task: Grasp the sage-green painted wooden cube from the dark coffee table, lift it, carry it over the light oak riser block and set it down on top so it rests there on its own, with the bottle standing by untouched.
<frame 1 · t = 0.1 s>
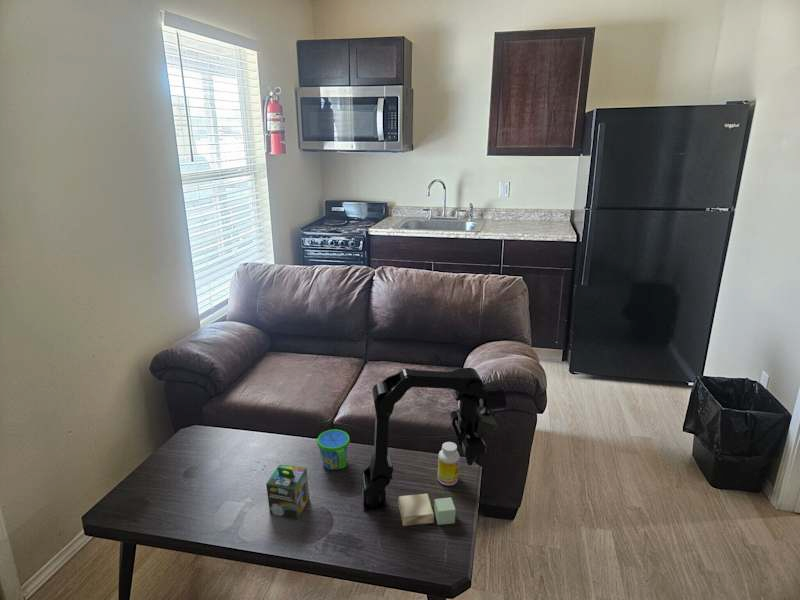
hand: (465, 455, 155), 15 cm above the table, fingers open, 9 cm apart
sage cube: (444, 517, 151), on the table
oak riser block: (415, 512, 152), on the table
supplement bottle: (447, 480, 167), on the table
snack cup: (334, 464, 173), on the table
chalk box: (289, 507, 154), on the table
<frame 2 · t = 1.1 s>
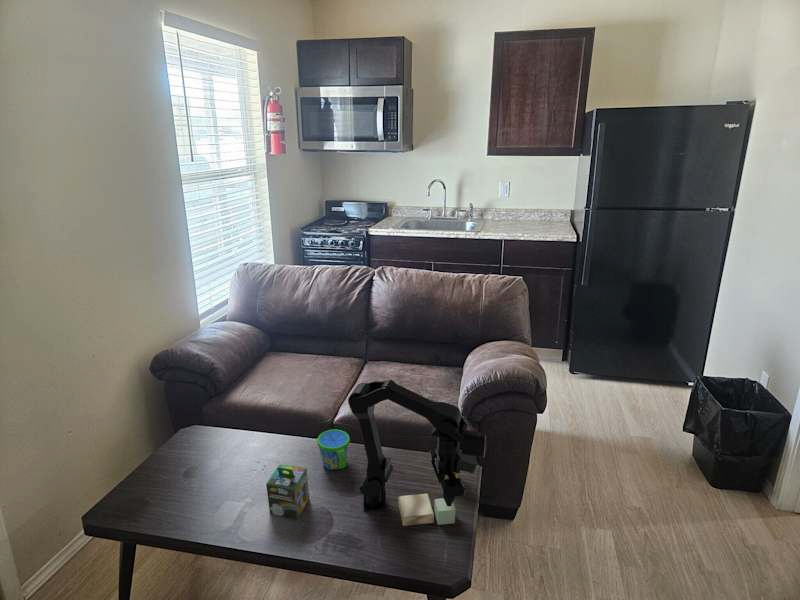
hand: (445, 494, 148), 8 cm above the table, fingers open, 9 cm apart
nothing on the table moved.
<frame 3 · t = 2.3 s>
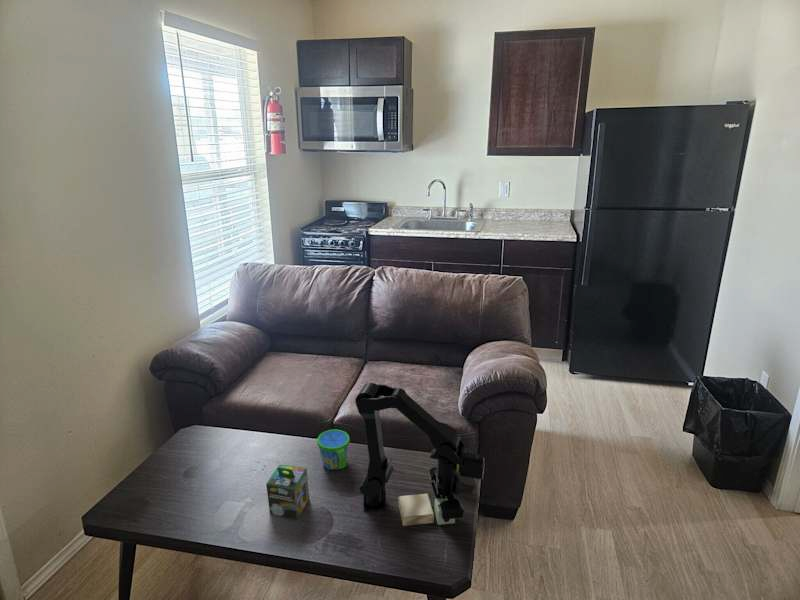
hand: (444, 514, 151), 1 cm above the table, fingers closed on sage cube, 5 cm apart
sage cube: (444, 517, 151), on the table, touching gripper
everything else where it was.
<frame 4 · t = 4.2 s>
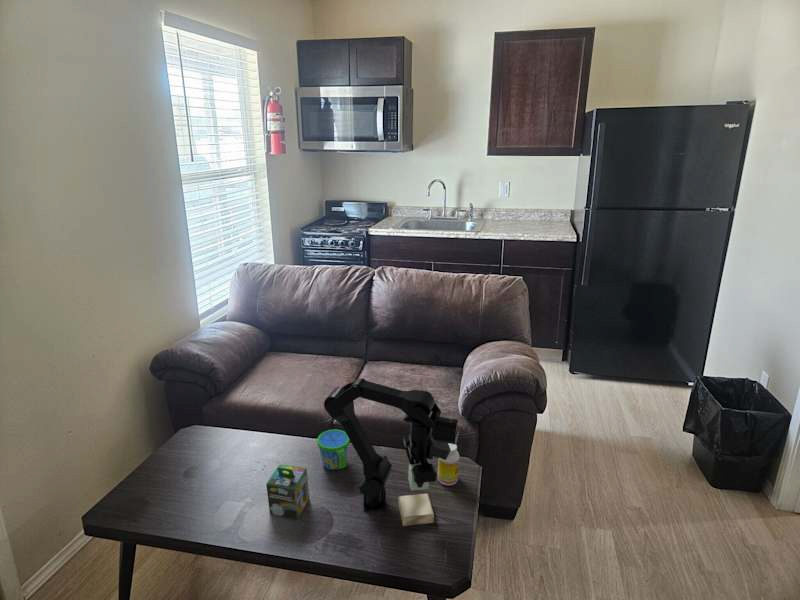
hand: (418, 480, 148), 12 cm above the table, fingers closed on sage cube, 5 cm apart
sage cube: (418, 483, 149), point 11 cm above the table, touching gripper
everything else where it was.
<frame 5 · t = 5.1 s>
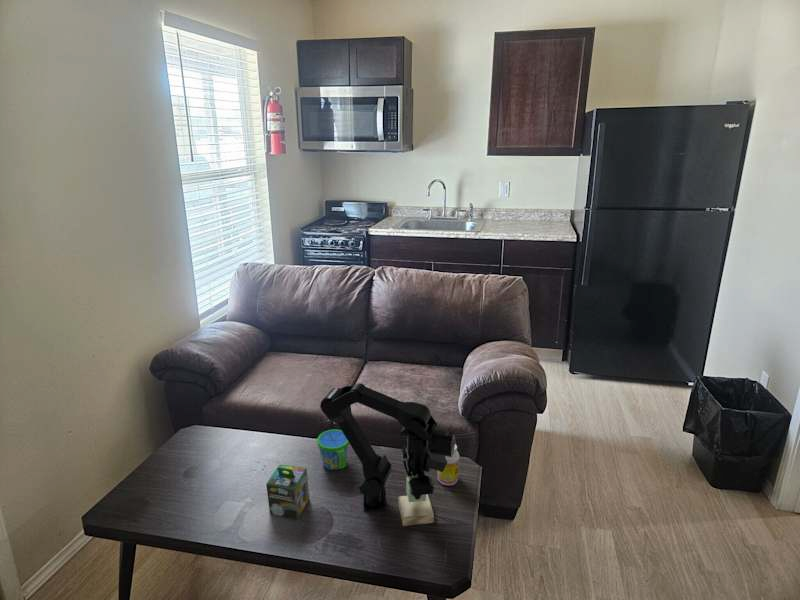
hand: (415, 492, 150), 7 cm above the table, fingers closed on sage cube, 5 cm apart
sage cube: (415, 495, 150), point 6 cm above the table, touching gripper
everything else where it was.
when the fingers open (5 cm above the table, at t = 5.9 s): sage cube stays where it is, resting on oak riser block.
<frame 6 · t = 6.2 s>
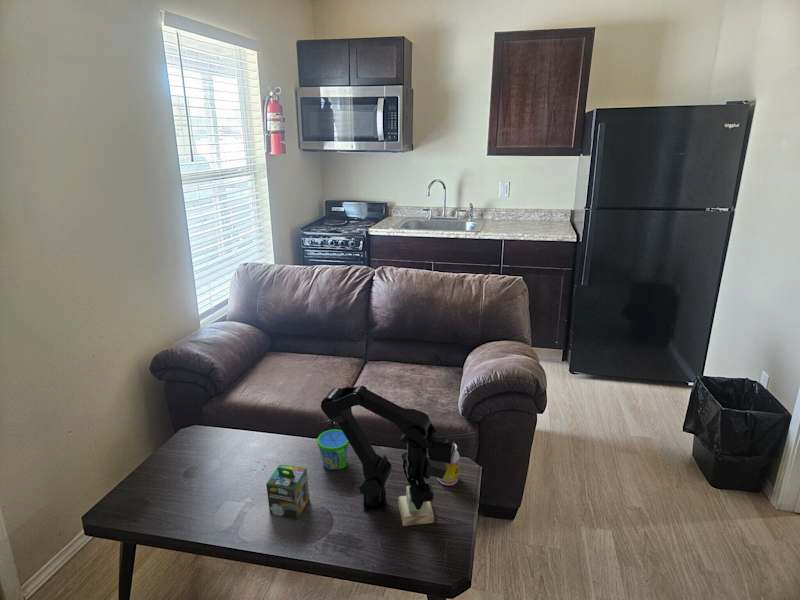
hand: (415, 499, 151), 5 cm above the table, fingers open, 8 cm apart
sage cube: (415, 504, 151), point 3 cm above the table, touching oak riser block
everything else where it was.
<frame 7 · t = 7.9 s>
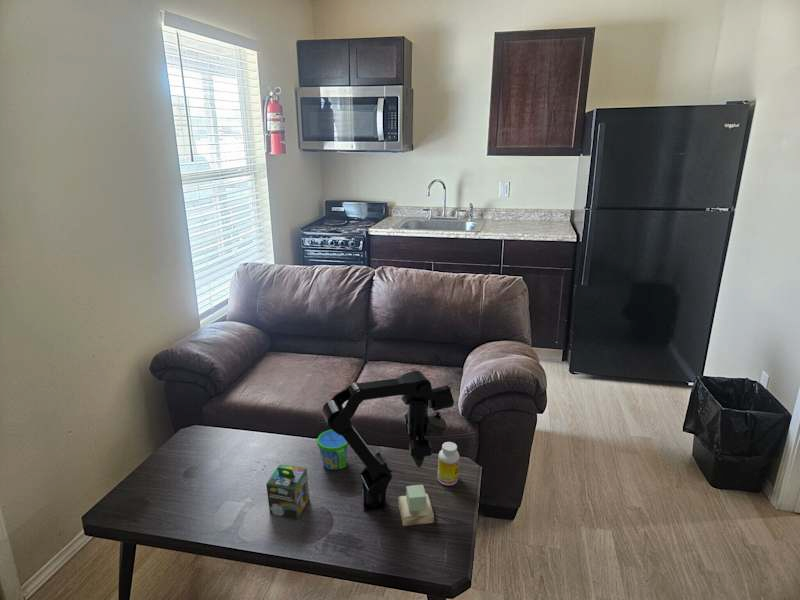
hand: (417, 456, 157), 13 cm above the table, fingers open, 9 cm apart
nothing on the table moved.
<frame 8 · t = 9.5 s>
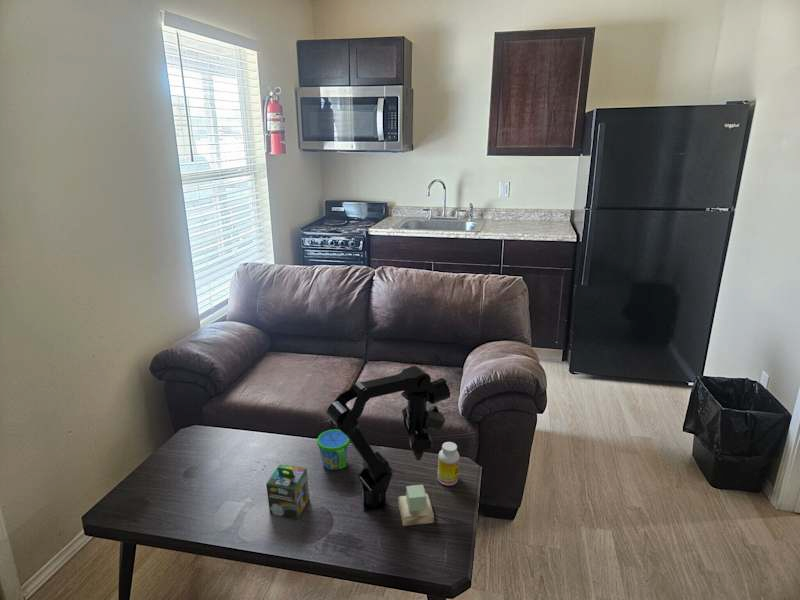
hand: (415, 450, 159), 13 cm above the table, fingers open, 9 cm apart
nothing on the table moved.
at the end: sage cube inside the target area on the oak riser block (0.0 cm from its centre), point 3.0 cm above the oak riser block's base; sage cube tilted 0°; the gripper is holding nothing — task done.
